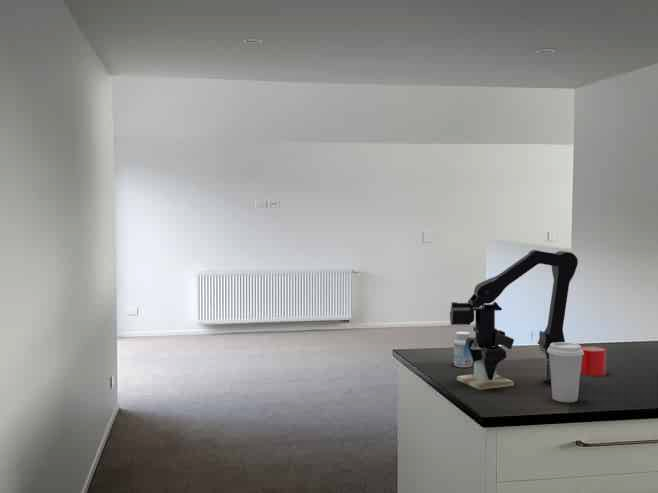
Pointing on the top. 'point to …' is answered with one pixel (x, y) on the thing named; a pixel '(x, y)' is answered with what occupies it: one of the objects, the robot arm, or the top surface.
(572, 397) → the coffee cup
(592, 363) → the mug
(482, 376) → the cap
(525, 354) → the top surface
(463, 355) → the pill bottle
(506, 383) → the holder
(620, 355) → the top surface
